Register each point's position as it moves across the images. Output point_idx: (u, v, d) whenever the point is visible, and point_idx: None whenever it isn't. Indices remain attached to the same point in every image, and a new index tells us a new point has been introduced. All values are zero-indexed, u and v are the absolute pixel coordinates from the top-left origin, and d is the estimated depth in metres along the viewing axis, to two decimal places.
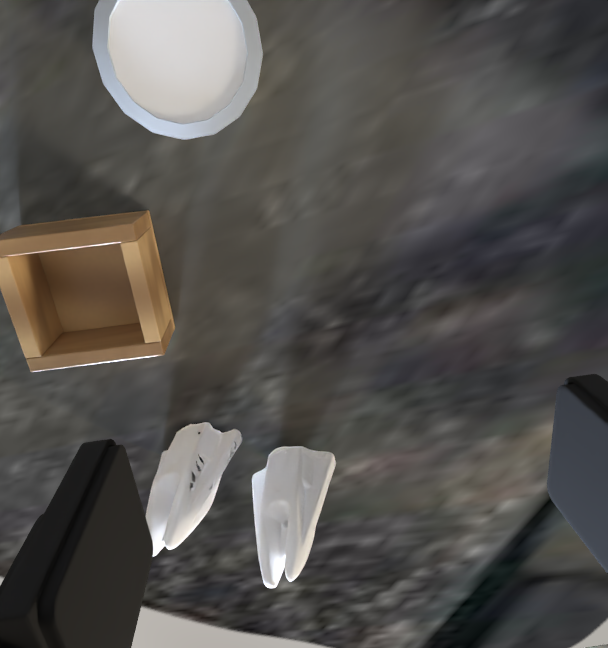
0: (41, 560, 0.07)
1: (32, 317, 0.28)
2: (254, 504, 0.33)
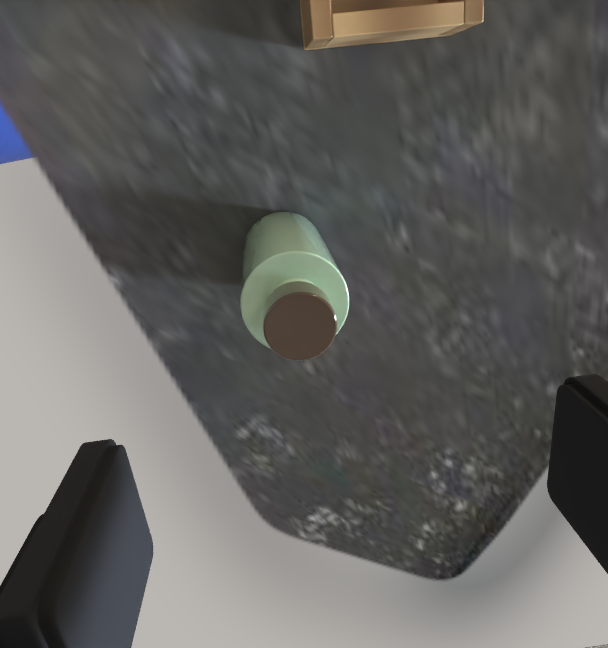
0: (41, 560, 0.07)
1: (411, 7, 0.22)
2: None
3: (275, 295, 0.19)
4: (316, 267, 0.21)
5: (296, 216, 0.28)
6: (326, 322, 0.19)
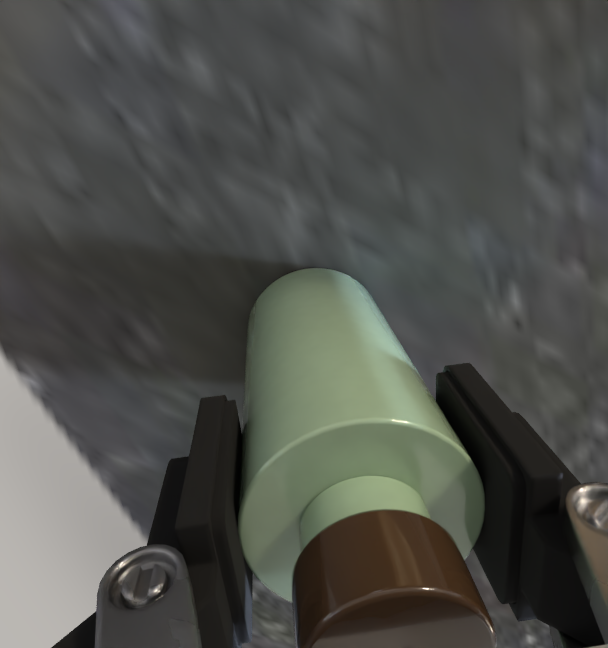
0: (203, 485, 0.08)
1: None
2: None
3: (328, 567, 0.07)
4: (418, 451, 0.09)
5: (339, 279, 0.16)
6: None
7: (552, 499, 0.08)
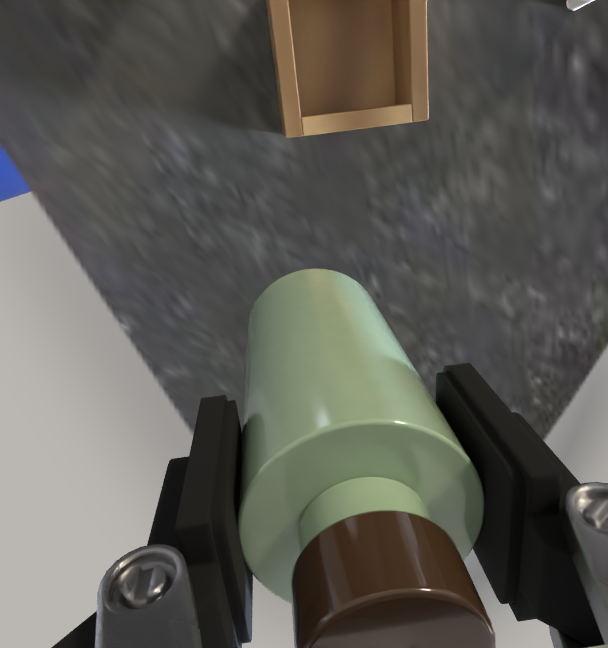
0: (203, 485, 0.08)
1: None
2: None
3: (328, 568, 0.07)
4: (417, 452, 0.09)
5: (339, 279, 0.16)
6: None
7: (552, 499, 0.08)
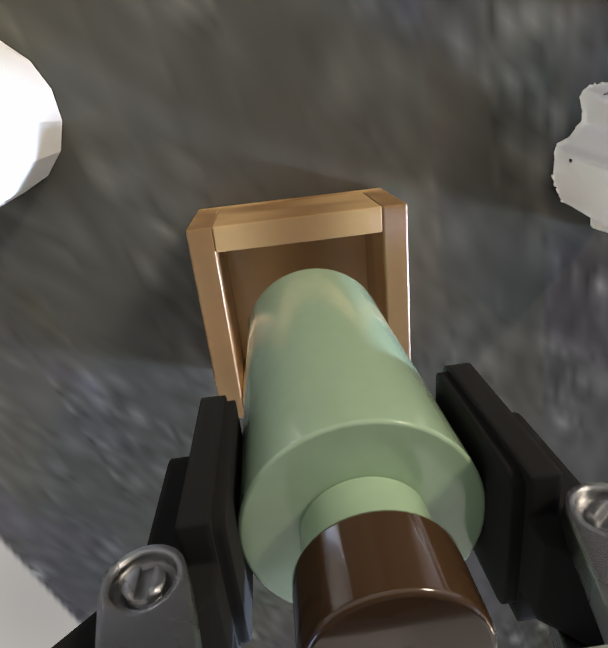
0: (203, 485, 0.08)
1: None
2: None
3: (329, 568, 0.07)
4: (418, 452, 0.09)
5: (339, 279, 0.16)
6: None
7: (552, 499, 0.08)
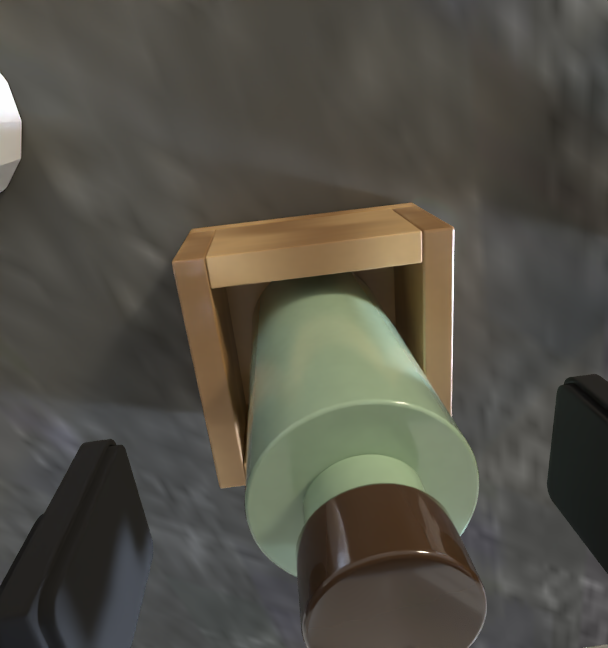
0: (41, 560, 0.07)
1: None
2: None
3: (331, 534, 0.08)
4: (415, 431, 0.09)
5: (340, 273, 0.16)
6: (462, 610, 0.07)
7: None
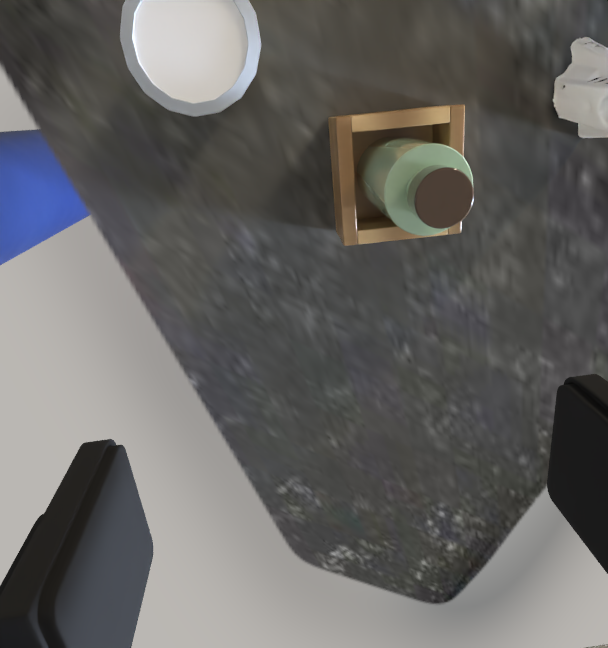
0: (41, 560, 0.07)
1: None
2: None
3: (423, 173, 0.23)
4: (449, 158, 0.25)
5: None
6: (465, 194, 0.23)
7: None
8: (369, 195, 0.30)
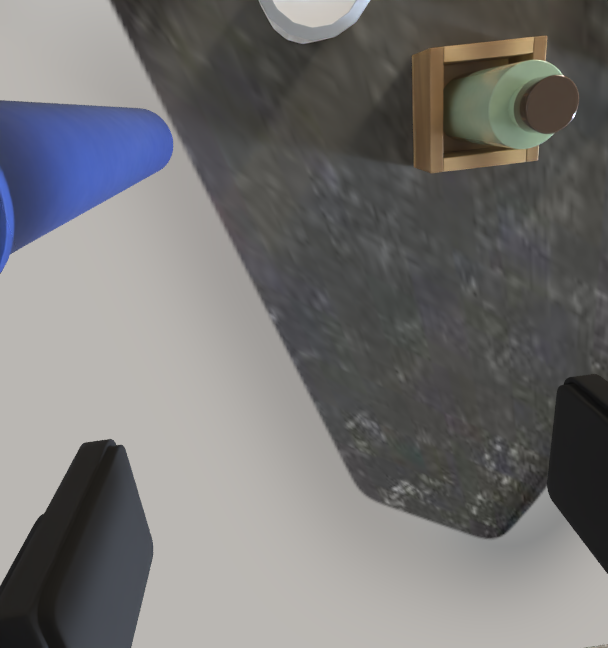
0: (41, 560, 0.07)
1: (492, 151, 0.35)
2: None
3: (532, 82, 0.26)
4: (549, 73, 0.27)
5: None
6: (572, 100, 0.26)
7: None
8: (458, 122, 0.33)
